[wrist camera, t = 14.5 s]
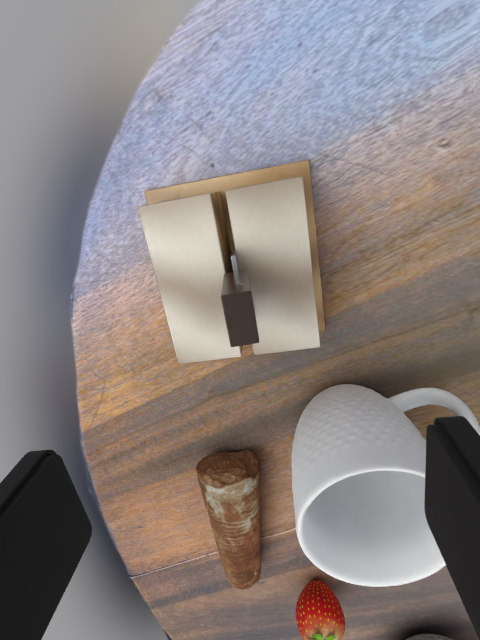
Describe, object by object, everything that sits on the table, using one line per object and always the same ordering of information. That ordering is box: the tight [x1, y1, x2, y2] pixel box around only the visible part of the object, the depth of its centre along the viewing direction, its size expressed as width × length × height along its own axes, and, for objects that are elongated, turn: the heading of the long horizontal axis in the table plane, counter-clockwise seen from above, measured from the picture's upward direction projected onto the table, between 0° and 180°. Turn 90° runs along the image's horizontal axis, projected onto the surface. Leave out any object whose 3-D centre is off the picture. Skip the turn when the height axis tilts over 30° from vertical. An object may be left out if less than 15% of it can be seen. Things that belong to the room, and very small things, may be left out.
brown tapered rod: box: [196, 450, 261, 589], centre depth 39 cm, size 6×19×6 cm, turn 3°
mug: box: [291, 384, 480, 587], centre depth 29 cm, size 15×11×13 cm
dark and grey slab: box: [221, 240, 260, 347], centre depth 25 cm, size 5×2×12 cm, turn 10°
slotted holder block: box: [138, 160, 325, 364], centre depth 28 cm, size 14×13×6 cm
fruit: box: [296, 580, 345, 640], centre depth 41 cm, size 5×5×8 cm
